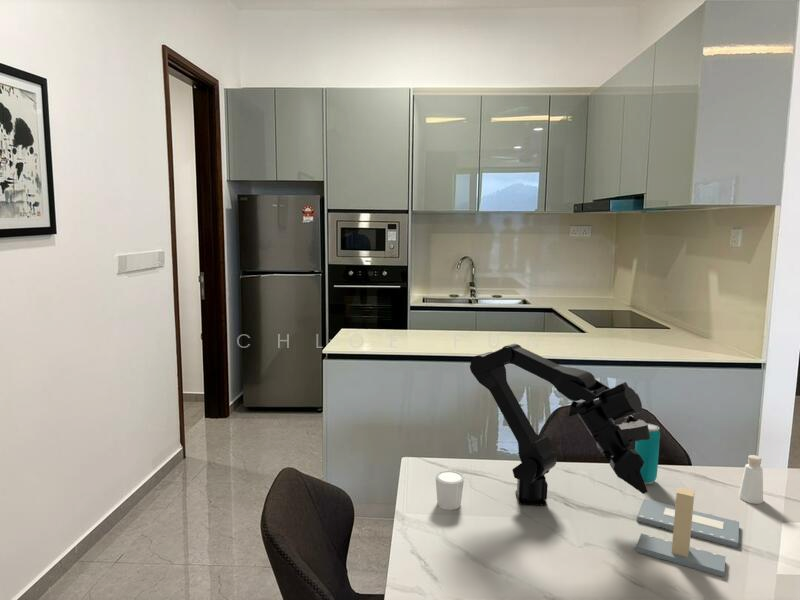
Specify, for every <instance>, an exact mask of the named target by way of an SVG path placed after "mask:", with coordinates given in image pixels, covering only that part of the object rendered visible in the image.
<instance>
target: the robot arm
mask: <svg viewBox="0 0 800 600" xmlns="http://www.w3.org/2000/svg"><path fill="white" fill-rule="evenodd" d="M509 364H512V365H515V366H516V367H518V368H520V369H522V370H525V372H526V371H527V372H528V373H530V374H533V375H534V376H537V377H539V378H540V379H542V380H544V381H546V382H549V383H550V384H551V385H552V386H553V387H554V388H555V389H556V391H557V392H558V393H560V394H561V395H562V396H564V397H566V398H567V399H568V400H569V401H572V402H571V404H570V405H569V411H568V414H567V415H568V416H567V417H570V418H571V417H573V416H577V415H578V417H579V418H580V420H581V421H582V423H583V424H584V426H585V428H586V429H587V431H588V432H589V434H590V435H591V437H592V438H593V440H594V441H595V443H596V444H595V445H596V447H597V449H598V450H599V451H600V453H601V455H602V456H603V457H604V458H605V459H606V460H607V461H608V462H609V466H610V468H611V469H612V470H613V472H614V474H615V475H616V476H617V478H618V479H621V480H622V481H624V482H625V483H627V484H628V485H629V486H631V487H632V488H634V489H635V490H637V492H640V493H641V494H643V495H645V494H646V493H648V489H647V486H646V484H645V483H644V480H643V478H642V475H641V472H640V471H641V468H642V467H643V465H644V463H645V462H644V461H643V459H642V458H641V456H640V455H639V454H638V453H637V451H636V450H635V449H634V448H629V447H630V446H632V444H631V442H632V443H633V442H636V441H639V440H649V439H650V438H651V437H650V433H649V429H648V424H647V422H646V421H644V420H642V419H640V418H639V419H638V420H636V417H634V416H633V415H636V414H639V413H641V412H642V409H643V406H642V401H641V397H640V396H639V394H638V393H637V392H636V391H635V390H634V389H633V388H632V387H629V385H628V383H627V382H626V381H624V382H623V383H622V382H621V383H620V384H617V385H616V386H613V387H612V388H611V387H609V386H607V385H605V384H604V383H602V382H600V381H599V380H598V379H596V378H595V376H594V375H593V374H592V373H591V372H589V371H587V370H584V369H580V368H576V367H570V366H569V367H568V366H563V365H560V364H557V363H556V362H553V361H552V360H549V359H547V358H546V357H543V356H540V355H539V354H537V353H535V352H532V351H530V350H528V349H526V348H523V347H522V345H519V344H517V343H512V344H508V345H504V346H503V347H501V348H499V349H498V350H495V351H489V352H485V353H482V354H478V355H475V356H473V357H472V359H471V360H470V364H469V369H470V372H471V374H472V375H473V376H474V378H475V380H476V381H477V382H478V383H479V384H480V385H482V386H483V387H485V389H487V390H488V391H489V393H490V394H491V396H492V398H493V399H494V401H495V403H496V405H497V407H498V409H499V410H500V412H501V414H502V416H503V418H504V419H505V421H506V424H507V425H508V427H509V429H510V431H511V433H512V435H513V436H514V438H515V440H516V442H517V447H518V456H519V457H518V458H519V460H520V463H519V464H518V465H516V466H515V467H513V468H512V474H513V477H514V479H516V480H517V481H516V482H517V483H516V486H517V487H516V490H515V497H516V499H517V502H518V505H520V506H521V505H524V506H525V505H526V506H547V502H546V500H548V482H547V480H546V476H545V475H546V474H549V472H550V470H552V469H553V468H555V466H556V464H557V460H558V456H557V454H556V452H557V449H555V447H554V446H553V445H552V443H551V440H550V438H549V436H547V435H545V436H544V437H541V436H540V435H539V434H537V432H536V431H535V429H534V427H533V426H532V424H531V422H530V421H529V419H528V417H527V415H526V413H525V412H524V410H523V408H522V406H521V404H520V403H519V401H518V399H517V398H516V395H515V394H514V392H513V390H512V389H511V387H510V385H509V383H508V380H507V368H506V365H509ZM581 400H582V401H581ZM577 401H581V402H577ZM623 419H624V421H623V422H621V424H617V423H616V421H619V420H623Z"/></svg>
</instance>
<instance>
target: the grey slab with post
mask: <svg viewBox="0 0 800 600" xmlns="http://www.w3.org/2000/svg"><path fill="white" fill-rule="evenodd" d="M694 502H695V490H693V489H689V488H684V487H681V486H678V487H677V490H676V495H675V505H674V506H675V518H674V529H673V531H672V532H673V533H672V541H670V540H666V539H664V538H661V537H656V536H652V535H649V534H645V533H640V536H639V538H638V540H637V543H636V547H635V552H636V553H640V554H644V555H647V556H650V557H653V558H657V559H660V560H661V559H662V560H664V561H668V562H671V563H674V564H679V565H680V566H685V567H688V568H692V569H693V570H694V569H695V570H699V571H702V572H705V573H708V574H712V575H715V576H720V577H722V578H724V577H725V572H726V571H725V569H726V561H727V560H726V558H727V556H726V555H721V554H717V553H714V552H710V551H707V550H704V549H699V548H695V547H692V546H690V545H691V526H692V515H693V511H694Z"/></svg>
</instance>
